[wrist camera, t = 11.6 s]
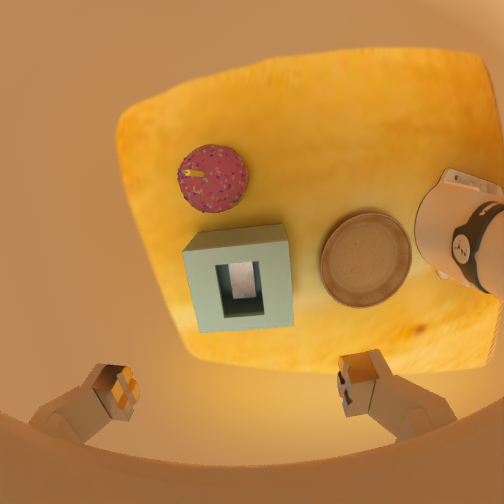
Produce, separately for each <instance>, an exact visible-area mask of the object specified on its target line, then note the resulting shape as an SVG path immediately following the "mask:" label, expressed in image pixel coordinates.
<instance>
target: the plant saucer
mask: <svg viewBox="0 0 504 504" xmlns="http://www.w3.org/2000/svg"><path fill="white" fill-rule="evenodd" d="M411 262H412V247H411V243H410V239H409V236H408V234H407V233H406V231H405V229H404V228H403V227H402V225H401V224H400V223H398V222H397V221H396V220H395V219H393V218H391V217H389V216H387V215H384V214H379V213H366V214H361V215H358V216H355V217H353V218H351V219H349V220H347V221H346V222H344V223H343V224H342V225H340V226H339V227H338V228H337V229H336V230H335V231H334V233H333V234H332V235H331V236H330V238H329V239H328V241H327V243H326V245H325V247H324V250H323V253H322V257H321V262H320V273H321V279H322V282H323V285H324V287H325V289H326V291H327V292H328V293H329V295H330V296H331V297H332V298H333V299H334V300H336V301H337V302H339V303H340V304H342V305H344V306H348V307H352V308H368V307H372V306H375V305H378V304H380V303H382V302H384V301H386V300H387V299H389V298H390V297H391V296H393V295H394V294H395V293H396V292H397V291H398V290H399V288H400V287H401V286H402V284H403V283H404V281H405V280H406V278H407V276H408V273H409V270H410V267H411Z"/></svg>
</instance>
